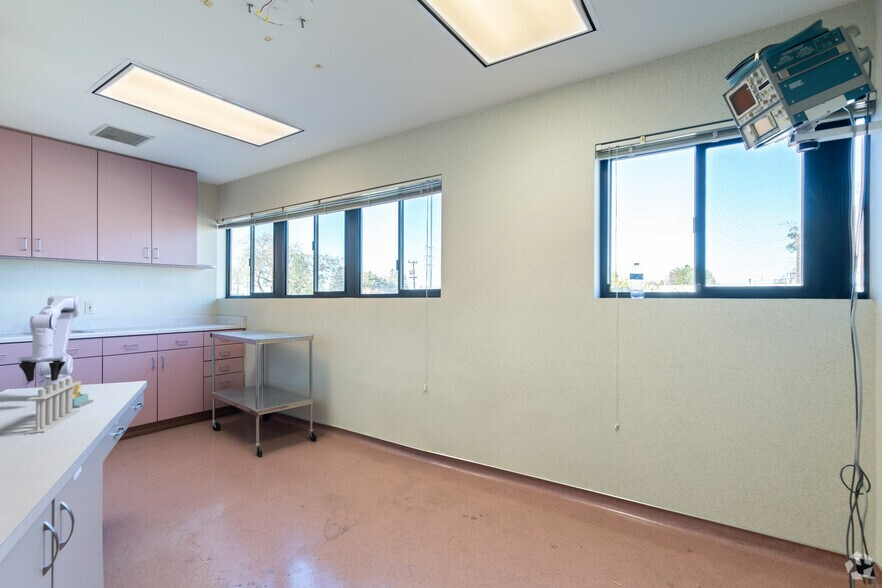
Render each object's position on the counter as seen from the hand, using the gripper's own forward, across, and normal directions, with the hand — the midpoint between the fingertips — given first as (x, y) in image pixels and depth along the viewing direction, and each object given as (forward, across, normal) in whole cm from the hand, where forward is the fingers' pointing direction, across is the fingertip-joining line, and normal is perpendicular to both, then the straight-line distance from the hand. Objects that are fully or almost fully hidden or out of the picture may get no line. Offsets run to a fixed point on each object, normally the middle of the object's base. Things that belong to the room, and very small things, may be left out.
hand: (42, 380), depth 155 cm
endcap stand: (+10, +10, 0) cm, 14 cm away
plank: (+9, +10, 0) cm, 14 cm away
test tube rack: (+10, +18, -23) cm, 31 cm away
